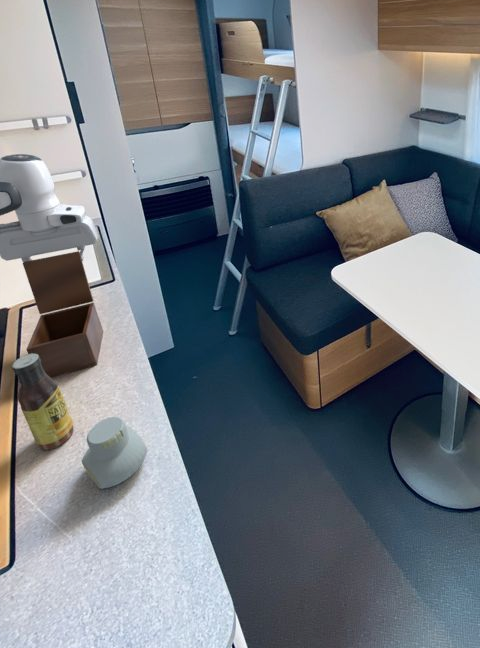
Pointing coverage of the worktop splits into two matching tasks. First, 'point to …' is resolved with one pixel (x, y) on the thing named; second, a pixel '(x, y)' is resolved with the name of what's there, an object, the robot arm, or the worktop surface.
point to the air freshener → (113, 452)
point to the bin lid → (58, 282)
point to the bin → (67, 340)
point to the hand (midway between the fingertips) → (59, 265)
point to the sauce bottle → (42, 403)
